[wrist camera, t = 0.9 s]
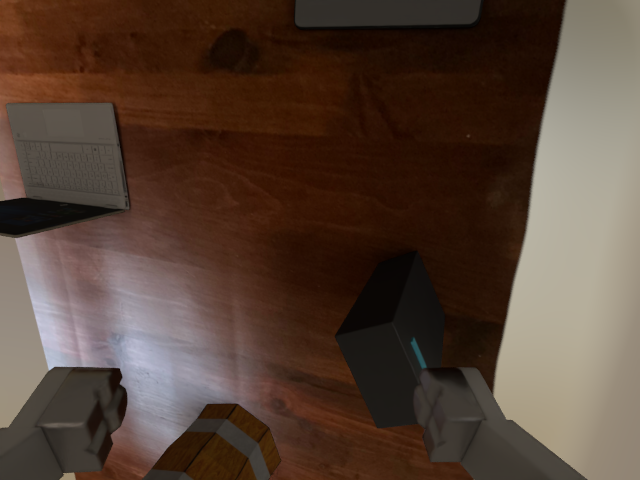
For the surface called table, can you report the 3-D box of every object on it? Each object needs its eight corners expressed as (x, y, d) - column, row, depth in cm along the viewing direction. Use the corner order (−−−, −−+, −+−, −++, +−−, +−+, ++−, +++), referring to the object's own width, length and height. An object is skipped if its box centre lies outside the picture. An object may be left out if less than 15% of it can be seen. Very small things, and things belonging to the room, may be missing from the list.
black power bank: (419, 249, 34) (394, 321, 21) (446, 315, 35) (439, 421, 22) (377, 263, 36) (331, 336, 23) (404, 325, 36) (375, 429, 24)
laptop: (116, 103, 41) (-20, 93, 29) (131, 211, 45) (16, 240, 33) (11, 103, 47) (-137, 95, 35) (33, 199, 51) (-95, 220, 39)
